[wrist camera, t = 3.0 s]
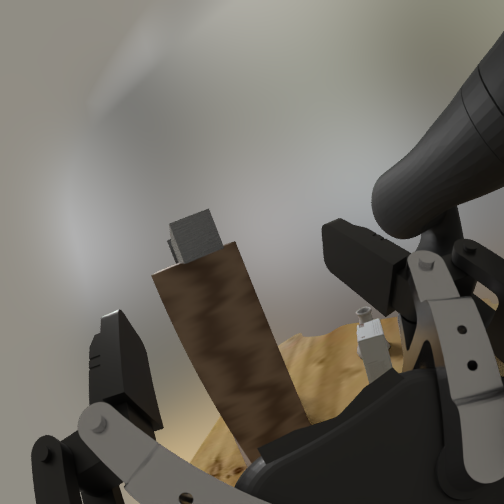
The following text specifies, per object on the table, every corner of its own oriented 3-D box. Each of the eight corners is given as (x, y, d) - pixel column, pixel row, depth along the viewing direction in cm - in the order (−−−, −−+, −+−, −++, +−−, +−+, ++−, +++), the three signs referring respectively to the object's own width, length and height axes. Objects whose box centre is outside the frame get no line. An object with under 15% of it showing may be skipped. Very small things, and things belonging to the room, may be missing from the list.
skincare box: (397, 393, 36) (386, 333, 36) (371, 400, 38) (357, 342, 37) (393, 372, 42) (381, 316, 41) (370, 379, 44) (355, 324, 43)
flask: (376, 338, 57) (366, 299, 56) (396, 346, 50) (387, 304, 49) (351, 354, 55) (339, 315, 54) (371, 364, 48) (360, 322, 47)
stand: (286, 400, 48) (220, 245, 46) (326, 442, 33) (245, 237, 31) (230, 427, 45) (153, 273, 43) (254, 480, 30) (142, 279, 27)
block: (198, 254, 44) (189, 232, 44) (229, 245, 20) (210, 196, 20) (176, 263, 43) (167, 241, 43) (179, 266, 19) (160, 215, 19)
